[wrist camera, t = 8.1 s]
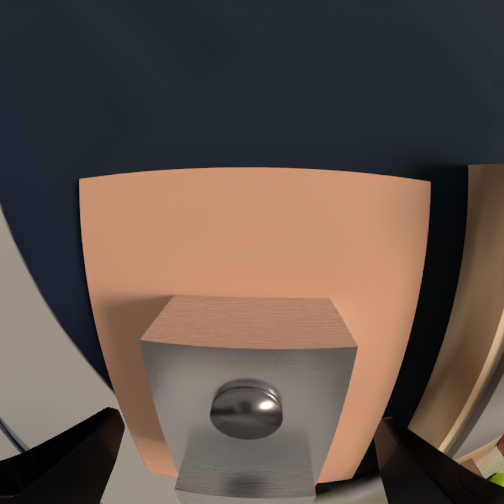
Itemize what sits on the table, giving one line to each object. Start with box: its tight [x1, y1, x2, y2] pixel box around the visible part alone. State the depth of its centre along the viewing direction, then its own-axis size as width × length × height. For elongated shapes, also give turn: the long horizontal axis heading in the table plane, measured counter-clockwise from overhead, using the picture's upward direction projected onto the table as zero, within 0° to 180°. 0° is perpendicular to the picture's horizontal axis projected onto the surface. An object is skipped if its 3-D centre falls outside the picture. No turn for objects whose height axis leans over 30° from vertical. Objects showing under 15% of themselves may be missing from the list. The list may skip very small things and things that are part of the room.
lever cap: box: [139, 295, 358, 504], centre depth 7 cm, size 8×5×4 cm, turn 0°
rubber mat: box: [79, 168, 431, 483], centre depth 10 cm, size 16×12×1 cm
